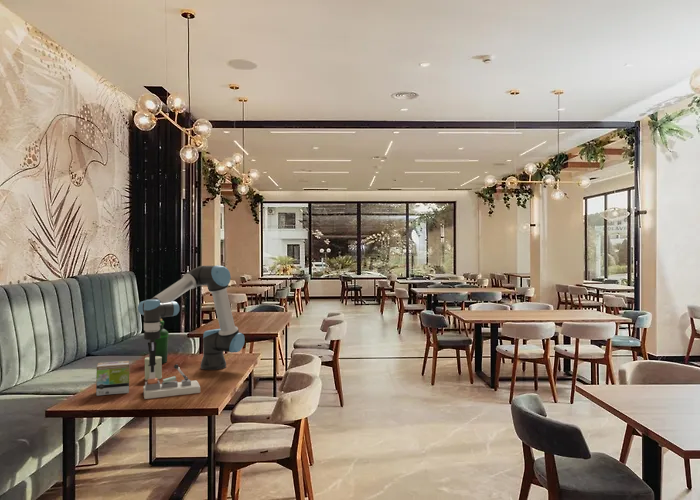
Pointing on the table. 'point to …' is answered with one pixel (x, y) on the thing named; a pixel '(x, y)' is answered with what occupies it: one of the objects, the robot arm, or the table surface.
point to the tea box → (112, 378)
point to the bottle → (162, 343)
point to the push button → (153, 381)
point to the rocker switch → (169, 379)
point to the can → (157, 367)
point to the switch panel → (170, 388)
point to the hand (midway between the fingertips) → (152, 378)
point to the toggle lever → (180, 372)
